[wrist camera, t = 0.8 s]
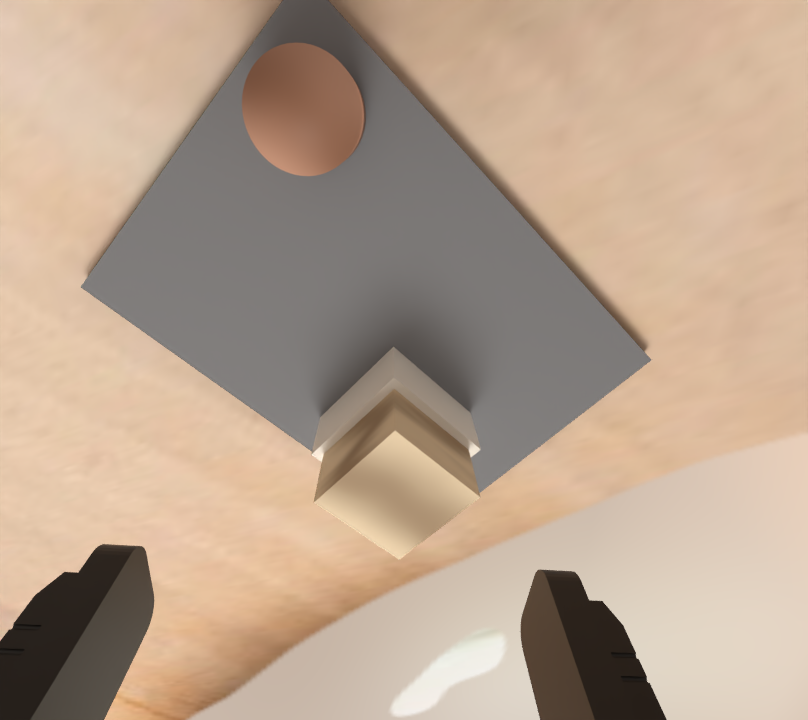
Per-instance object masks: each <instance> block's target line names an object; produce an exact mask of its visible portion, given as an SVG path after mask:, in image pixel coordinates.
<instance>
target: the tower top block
mask: <svg viewBox="0 0 808 720" xmlns="http://www.w3.org/2000/svg"><path fill="white" fill-rule="evenodd" d="M479 498H480V494H479V490H478V486H477V481H476V477H475V473H474V469H473V465H472V461H471V457H470V453H469V450H468V449H467V448H466V447H465V446H463V445H462V444H461V443H460V442H459V441H457V440H456V439H455V438H454V437H452V436H451V435H450V434H449V433H448V432H446V431H445V430H444V429H443V428H442V427H440V426H439V425H438V424H437V423H435V422H434V421H433V420H432V419H431V418H429V417H428V416H427V415H426V414H425V413H423V412H422V411H421V410H420V409H418V408H417V407H416V406H415V405H414V404H412V403H411V402H410V401H409V400H408V399H406V398H405V397H404V396H403V395H401V394H400V393H399V392H398V391H397V390H395V389H394V390H392V391H391V392H390V393H389V394H388V395H387V396H386V397H385V398H384V399H383V400H382V401H381V402H379V403H378V404H377V405H376V406H375V407H374V408H373V409H372V410H371V411H370V412H369V413H368V414H367V415H365V416H364V417H363V418H362V419H361V420H360V421H359V422H358V423H357V424H356V425H355V426H354V427H352V428H351V429H350V430H349V431H348V432H347V433H346V434H345V435H344V436H343V437H342V438H341V439H340V440H338V441H337V442H336V443H335V444H334V445H333V446H332V447H331V448H330V449H329V450H328V451H327V452H325V453H324V454H323V459H322V464H321V469H320V474H319V479H318V484H317V489H316V494H315V499H314V503H315V504H316V505H318V506H319V507H321V508H322V509H324V510H325V511H327V512H328V513H330V514H331V515H333V516H334V517H336V518H337V519H339V520H340V521H342V522H343V523H345V524H346V525H348V526H349V527H351V528H352V529H354V530H355V531H357V532H358V533H360V534H361V535H363V536H364V537H366V538H367V539H369V540H370V541H372V542H373V543H375V544H376V545H378V546H379V547H381V548H382V549H384V550H385V551H387V552H388V553H390V554H391V555H393V556H394V557H396V558H397V559H399V560H400V559H401V558H402V557H403V556H405V555H406V554H407V553H409V552H410V551H411V550H413V549H414V548H415V547H416V546H418V545H419V544H420V543H422V542H423V541H424V540H426V539H427V538H428V537H429V536H431V535H432V534H433V533H435V532H436V531H437V530H439V529H440V528H441V527H442V526H444V525H445V524H446V523H448V522H449V521H450V520H452V519H453V518H454V517H456V516H457V515H458V514H459V513H461V512H462V511H463V510H465V509H466V508H467V507H469V506H470V505H471V504H472V503H474V502H475V501H476V500H478V499H479Z"/></svg>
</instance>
